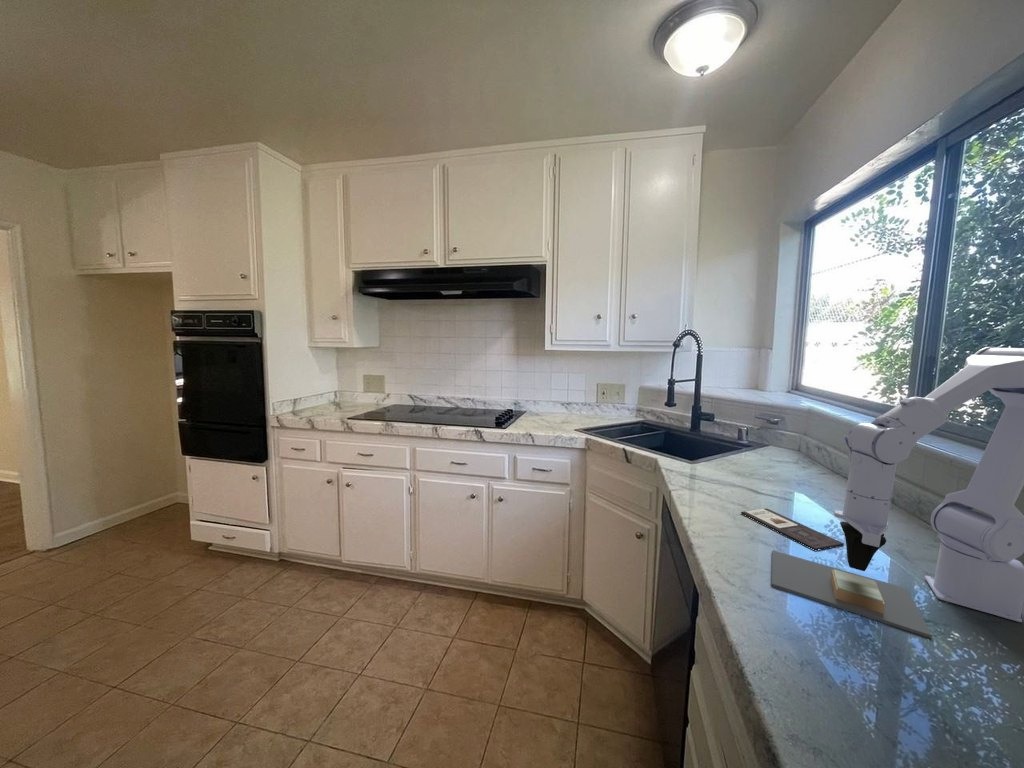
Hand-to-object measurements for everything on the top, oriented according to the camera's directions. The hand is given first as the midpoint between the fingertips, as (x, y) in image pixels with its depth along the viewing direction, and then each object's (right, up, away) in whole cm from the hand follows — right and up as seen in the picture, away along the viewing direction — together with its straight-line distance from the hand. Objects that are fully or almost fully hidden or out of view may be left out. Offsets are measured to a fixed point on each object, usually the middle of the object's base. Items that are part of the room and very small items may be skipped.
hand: (856, 567), depth 68 cm
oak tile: (+1, -3, +1) cm, 3 cm away
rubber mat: (-2, -4, +1) cm, 5 cm away
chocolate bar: (+5, -3, +24) cm, 24 cm away
